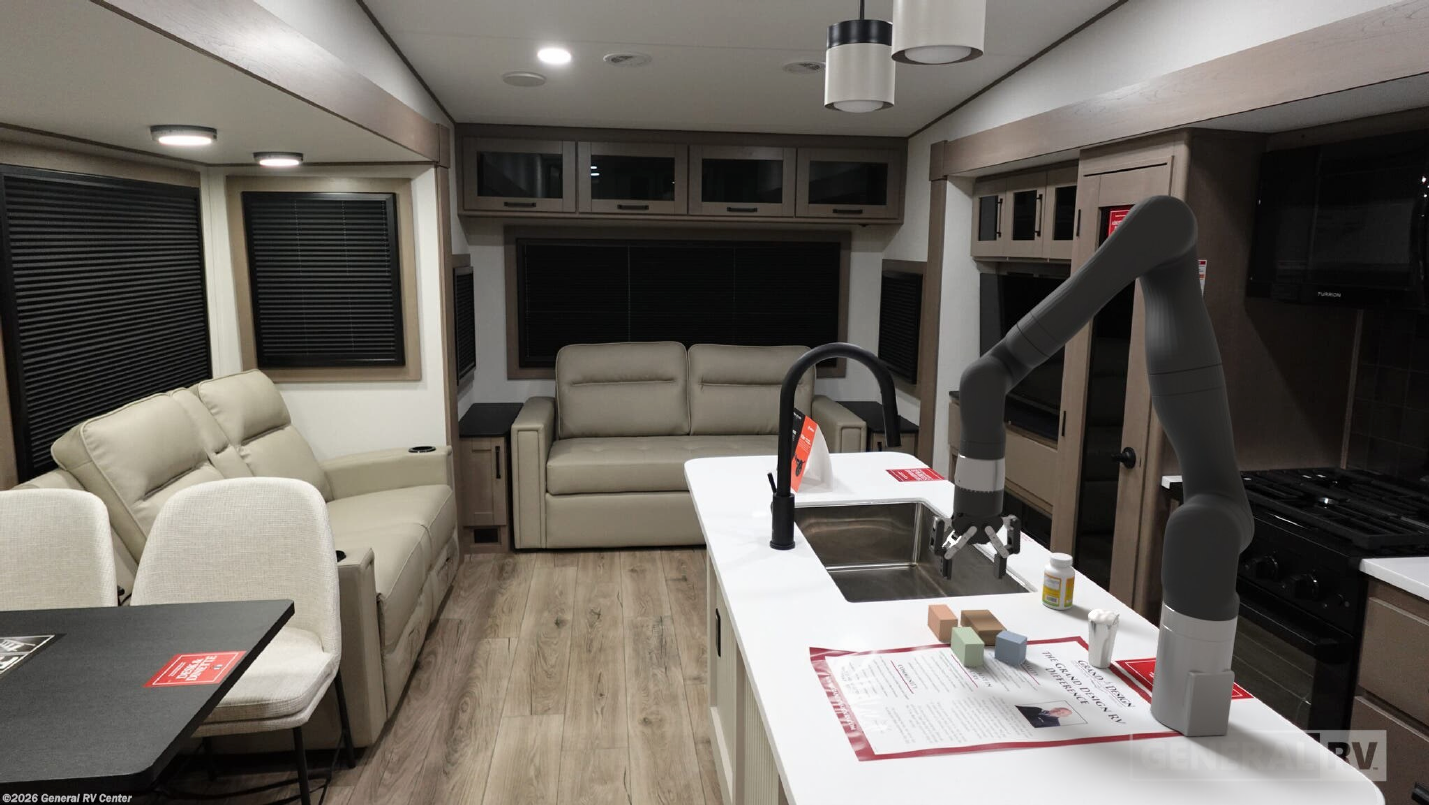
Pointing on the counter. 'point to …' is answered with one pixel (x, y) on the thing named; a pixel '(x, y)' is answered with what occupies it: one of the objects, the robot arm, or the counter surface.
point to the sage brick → (967, 646)
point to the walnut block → (982, 624)
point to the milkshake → (1101, 636)
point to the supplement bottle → (1058, 582)
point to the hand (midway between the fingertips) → (972, 578)
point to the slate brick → (1010, 647)
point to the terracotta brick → (941, 621)
